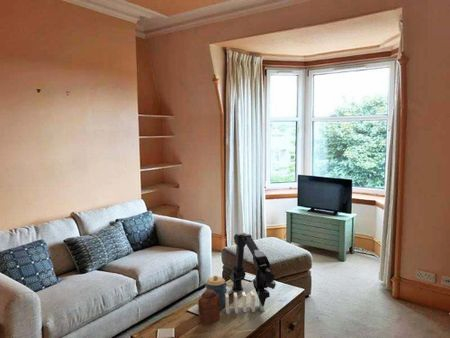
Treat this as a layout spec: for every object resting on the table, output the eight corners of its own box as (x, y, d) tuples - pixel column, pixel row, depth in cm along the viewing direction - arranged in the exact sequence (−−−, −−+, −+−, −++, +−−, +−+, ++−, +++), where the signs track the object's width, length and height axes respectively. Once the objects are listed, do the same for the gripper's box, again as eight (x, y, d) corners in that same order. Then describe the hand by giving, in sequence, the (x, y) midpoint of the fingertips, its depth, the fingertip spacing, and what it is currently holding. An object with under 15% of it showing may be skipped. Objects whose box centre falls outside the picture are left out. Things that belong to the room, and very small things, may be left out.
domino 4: (250, 307, 204) (250, 291, 203) (253, 307, 204) (253, 291, 203) (252, 311, 199) (251, 295, 198) (255, 311, 199) (254, 295, 198)
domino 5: (259, 306, 204) (258, 290, 203) (261, 306, 204) (261, 290, 203) (260, 311, 199) (260, 294, 198) (263, 310, 199) (263, 294, 198)
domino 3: (242, 308, 203) (242, 291, 202) (245, 307, 203) (244, 291, 202) (243, 312, 198) (243, 295, 197) (246, 312, 198) (246, 295, 197)
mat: (221, 309, 203) (221, 308, 203) (262, 306, 205) (262, 305, 205) (222, 315, 196) (222, 315, 196) (265, 312, 198) (265, 311, 198)
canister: (231, 302, 211) (230, 274, 209) (216, 311, 201) (216, 282, 200) (216, 296, 220) (215, 269, 218) (201, 304, 210) (200, 276, 208)
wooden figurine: (215, 315, 196) (214, 285, 194) (221, 320, 191) (220, 289, 189) (197, 322, 190) (195, 291, 188) (203, 328, 184) (201, 295, 182)
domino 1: (225, 309, 202) (225, 293, 201) (228, 309, 202) (227, 293, 201) (226, 313, 197) (226, 297, 196) (229, 313, 197) (228, 297, 196)
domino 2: (234, 308, 203) (233, 292, 202) (236, 308, 203) (236, 292, 202) (235, 313, 198) (234, 296, 197) (237, 313, 198) (237, 296, 197)
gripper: (278, 282, 191) (278, 309, 193) (270, 269, 210) (271, 293, 211) (258, 283, 190) (259, 310, 192) (252, 270, 209) (253, 295, 210)
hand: (261, 302), depth 201 cm, fingers open, 9 cm apart
